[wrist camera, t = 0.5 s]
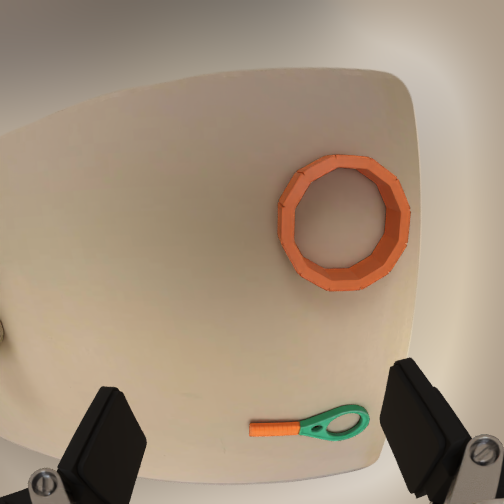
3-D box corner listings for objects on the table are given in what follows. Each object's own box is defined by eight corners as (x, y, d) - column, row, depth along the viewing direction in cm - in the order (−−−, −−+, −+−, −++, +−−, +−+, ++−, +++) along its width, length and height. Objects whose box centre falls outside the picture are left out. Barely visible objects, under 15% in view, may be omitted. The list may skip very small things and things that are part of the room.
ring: (278, 153, 24) (282, 151, 21) (397, 161, 24) (413, 161, 21) (276, 279, 27) (279, 293, 24) (387, 276, 27) (401, 288, 24)
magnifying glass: (372, 401, 32) (376, 410, 30) (360, 431, 33) (363, 440, 32) (250, 407, 31) (250, 418, 30) (248, 438, 33) (248, 447, 31)
